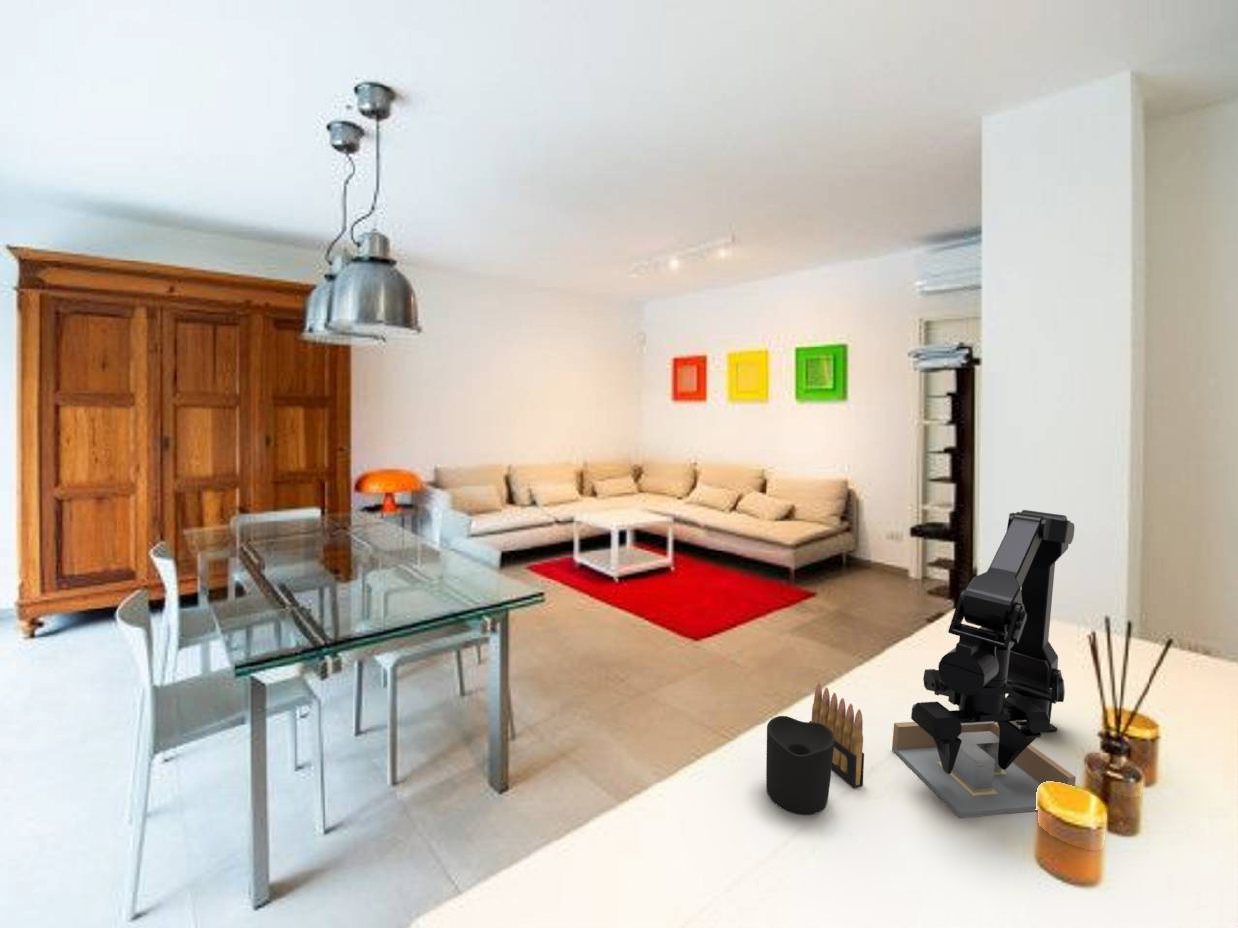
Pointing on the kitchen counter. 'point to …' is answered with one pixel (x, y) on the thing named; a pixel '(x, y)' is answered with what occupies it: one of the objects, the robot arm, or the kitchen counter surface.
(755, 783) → the kitchen counter surface
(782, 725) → the pen holder
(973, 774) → the angle bracket
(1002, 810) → the arena
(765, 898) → the kitchen counter surface
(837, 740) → the ammunition clip
